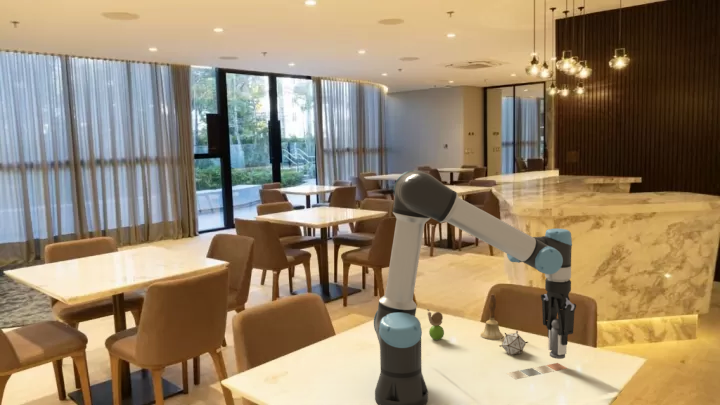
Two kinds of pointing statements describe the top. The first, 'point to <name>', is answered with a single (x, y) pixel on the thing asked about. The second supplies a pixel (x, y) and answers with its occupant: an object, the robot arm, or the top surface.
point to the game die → (513, 343)
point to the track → (533, 372)
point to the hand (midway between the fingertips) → (557, 351)
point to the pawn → (555, 340)
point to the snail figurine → (436, 325)
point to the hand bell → (492, 323)
